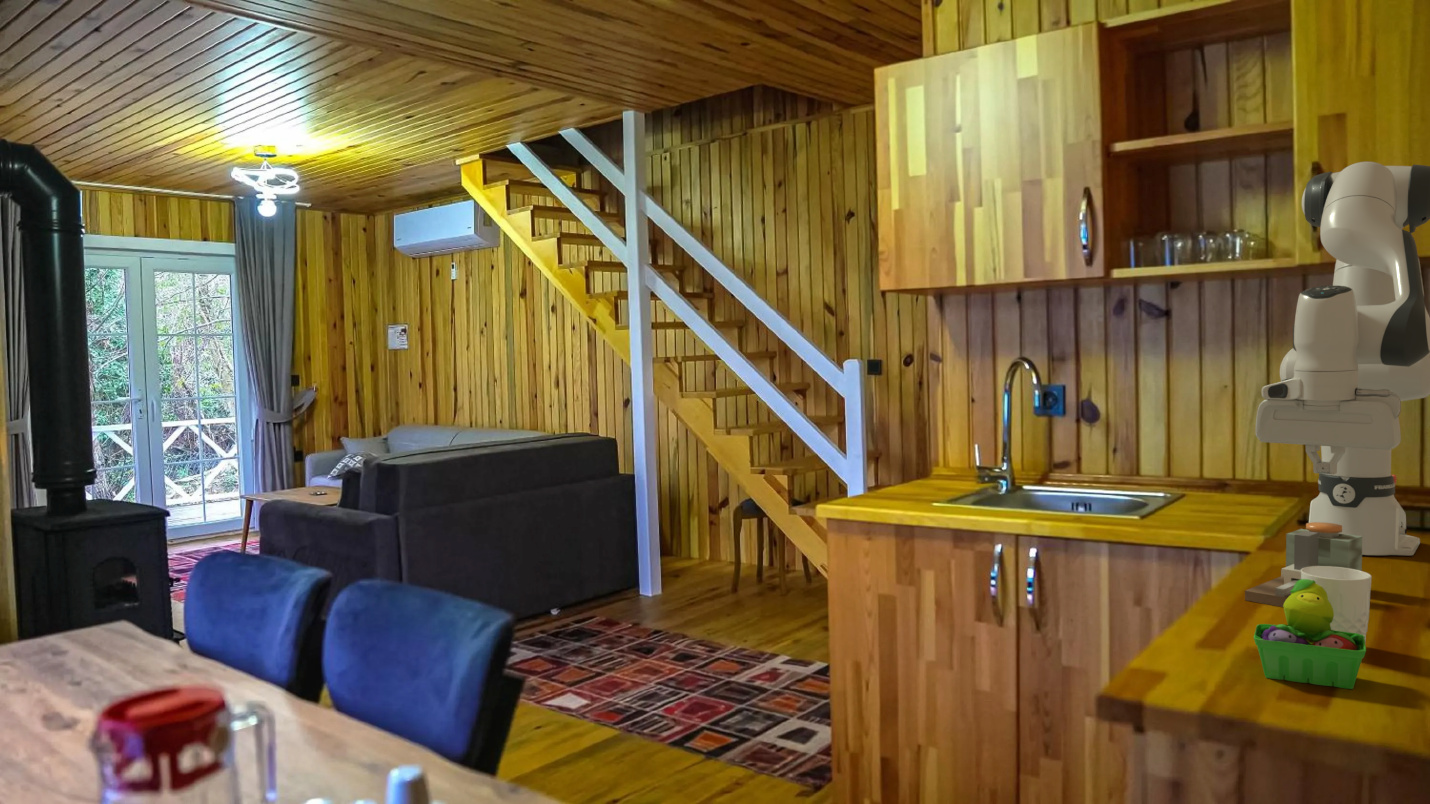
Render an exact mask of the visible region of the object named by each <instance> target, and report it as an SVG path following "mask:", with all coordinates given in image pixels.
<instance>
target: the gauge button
mask: <svg viewBox="0 0 1430 804" xmlns="http://www.w3.org/2000/svg"><path fill="white" fill-rule="evenodd" d="M1305 529H1306V530H1309V532H1316V533H1319V537H1325V538H1336V537H1338V536H1339V533H1340V532H1342V526H1341V525H1338V524H1333V523H1322V522H1312V523H1309V522H1306V523H1305Z"/></svg>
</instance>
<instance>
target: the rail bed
mask: <svg viewBox="0 0 1430 804" xmlns="http://www.w3.org/2000/svg"><path fill="white" fill-rule="evenodd" d="M1304 531H1308V532H1309V530H1306V528H1305V529H1303V528H1299V529H1297V530H1294V531H1291V532H1288V533H1285V541H1286V542H1285V543H1286V544H1285V545H1286V546H1285V567H1287V566H1290V565H1292V564H1294V540H1295V534H1298V533H1301V532H1304ZM1318 566H1332V567H1343V568H1350V569H1355V570H1360V571H1363V568H1362V567H1363V555H1362V536H1357V535H1348V534H1340V533H1339V536H1338V537H1336V538H1325V537H1319V545H1318ZM1298 580H1301V579H1296V580H1294V581H1291V582H1289V583H1286V584H1284V577H1282V576H1281V575H1280V576H1278V577H1276V578H1273V579H1272V580H1271V579H1270V580H1269V581H1266V582H1264V583H1261V584H1258V585H1256V586H1254V587H1250V588H1249V589H1246V590H1244V600H1245V601H1247V602H1251V603H1252V602H1254V603H1260V604H1263V605H1270V606H1277V607H1283V605H1284V602H1285V601H1286V599H1287V598H1288V597H1289V596H1290V595H1291V592H1290V591H1291V590H1292V589H1293V587H1294V585H1295V583H1296V582H1297V581H1298ZM1283 608H1284V607H1283Z"/></svg>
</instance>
